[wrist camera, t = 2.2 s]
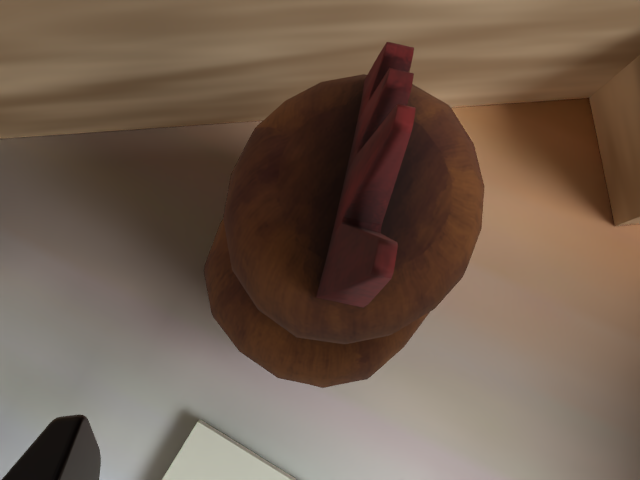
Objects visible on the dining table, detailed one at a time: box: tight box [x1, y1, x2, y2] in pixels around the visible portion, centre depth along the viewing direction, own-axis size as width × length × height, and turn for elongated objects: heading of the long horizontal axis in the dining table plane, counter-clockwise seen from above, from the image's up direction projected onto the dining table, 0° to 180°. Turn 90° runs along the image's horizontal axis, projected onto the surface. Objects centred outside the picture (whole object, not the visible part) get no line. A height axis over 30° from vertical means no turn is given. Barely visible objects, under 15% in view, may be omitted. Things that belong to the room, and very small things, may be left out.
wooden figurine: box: [204, 42, 484, 388], centre depth 13 cm, size 7×6×15 cm
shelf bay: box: [0, 0, 640, 226], centre depth 16 cm, size 6×24×9 cm, turn 96°
